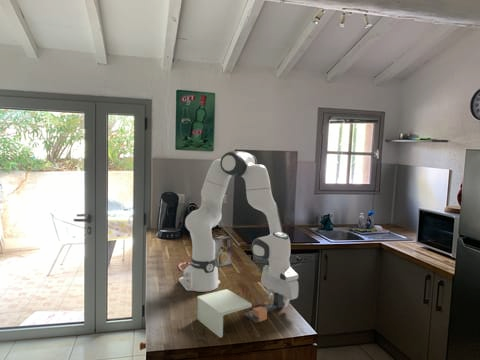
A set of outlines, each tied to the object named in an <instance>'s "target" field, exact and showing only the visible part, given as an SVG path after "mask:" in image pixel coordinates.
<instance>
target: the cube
mask: <svg viewBox="0 0 480 360" xmlns="http://www.w3.org/2000/svg"><path fill="white" fill-rule="evenodd" d="M263 307H264V306H262V305H261V306H258V307H253V308H252V310H253V315H255V316H256V317H258V318H259V322H263V321H266V320H267V319H268V312H267V309H265V308H263ZM259 322H258V323H259Z"/></svg>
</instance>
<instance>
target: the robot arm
mask: <svg viewBox="0 0 480 360" xmlns="http://www.w3.org/2000/svg"><path fill="white" fill-rule="evenodd" d="M232 177H237V178H241V177H242V178H243V180H244V182H245V194H246V200H247V202H248V204H249V205H250V206H251V207H252V208H253V209H255V210H258V211H260V212H262V213H263V214H264V215H265V217H266V220H267V224H268V229H269V234H268V235H265V236H259V237H257V238H255V239H253V241H252V243H251V253H252V255H253V256H254V258H256V259H257V260H262V261H265V260H266V261H268V265H267V264H266V265H264V266H263V267H262V273H261V279H260V280H261V281H260V283H261V285H262V286H263V287H265V288H266V291H267V295H268V298H269V299H271V300H272V299H274V293H276V292H277V293H279V294H281V295H283V296H284V299H285V300H283V307H285V308H287V307H289V303H290V301H291V300H295V299H297V298H298V297H299V282H298V279H299V274H298V272H296V271H295V270H294V269H293V268H292V266H291V262H290V256H291V240H290V236H289V235H288V234H287V233H285V231H284V228H283V225H282V220H281V219H282V218H281V215H280V211H279V207H278V205H277V202H276V201H275V200H274V196H273V193H272V186H271V179H270V176H269V172H268V169H267V167H266V166H265V165H263V164H258V160H257V158H256V156H255V155H253V154H252V153H250V152H247V151H246V152H245V151H242V150H240V151H233V150H232V151H228V152H225V153H224V154H223V155H222V156H221V158H217V159H215V160H213V161H212V163H211V165H210V167H209V168H208V171H207V174H206V176H205V179H204V182H203V185H202V188H201V191H200V196H201V203H200V207H198V209H197V208H196V209H195V210H192V211H191V212H190V213H188V214H187V216H186V217H185V220H184V221H185V222H184V223H185V224H184V225H185V228H186V229H187V230H188V231H189V235H190V238H191V243H192V247H191V248H192V249H191V250H192V257H191V256H190V259H189V260H190V262H189V263H190V265H189V264H188V266H187V267H186V268H184V269H183V270H184V272H182V276H181V277H179V279H178V282H179V283H180V284H181V286H182V287H183V288H184V289H185V290H186V291H189V292H190V291H193V292H194V291H195V292H200V293H201V292H211V291H214V290H217V289H218V287H219V285H220V284H221V280H219V271H218V270H219V267H218V266H216V258H215V241H214V240H213V237H214V236H213V234H212V229H213V228H215V227H216V226H217V225H218V224H219V223H220V222H221V220H222V216H223V215H222V214H223V213H222V208H223V207H222V206H223V202H224V199H225V198H224V197H225V195H226V192H227V189H228V185H229V183H230V180H231V178H232ZM273 292H274V293H273Z"/></svg>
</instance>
